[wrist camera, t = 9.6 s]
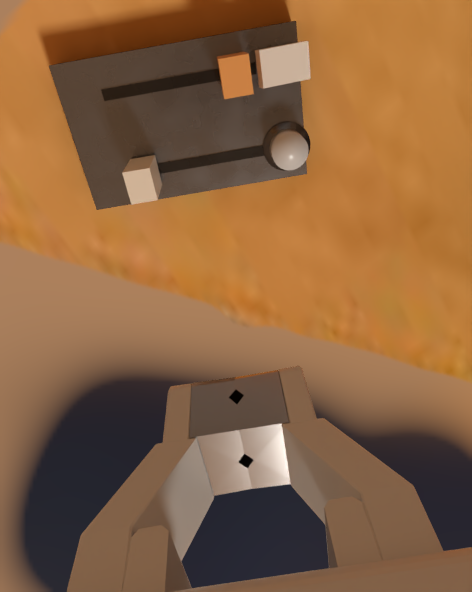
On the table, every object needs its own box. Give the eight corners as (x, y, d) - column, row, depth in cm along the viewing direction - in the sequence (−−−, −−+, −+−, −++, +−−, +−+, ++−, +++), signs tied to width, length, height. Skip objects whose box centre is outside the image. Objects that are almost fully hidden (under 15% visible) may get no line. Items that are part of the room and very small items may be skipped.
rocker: (302, 41, 31) (308, 40, 31) (304, 78, 33) (310, 78, 32) (254, 50, 31) (259, 50, 30) (259, 87, 32) (263, 88, 31)
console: (296, 20, 33) (303, 19, 31) (307, 166, 39) (313, 175, 36) (56, 64, 34) (46, 66, 31) (101, 202, 39) (95, 212, 37)
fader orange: (244, 51, 32) (248, 53, 28) (248, 87, 33) (253, 94, 30) (216, 56, 32) (217, 59, 28) (222, 92, 33) (224, 99, 30)
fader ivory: (154, 154, 35) (149, 168, 32) (162, 184, 36) (157, 200, 33) (130, 159, 35) (122, 172, 32) (138, 188, 36) (131, 204, 33)
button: (302, 125, 35) (307, 130, 33) (305, 161, 36) (309, 167, 35) (267, 132, 35) (270, 136, 33) (271, 167, 36) (274, 173, 35)
